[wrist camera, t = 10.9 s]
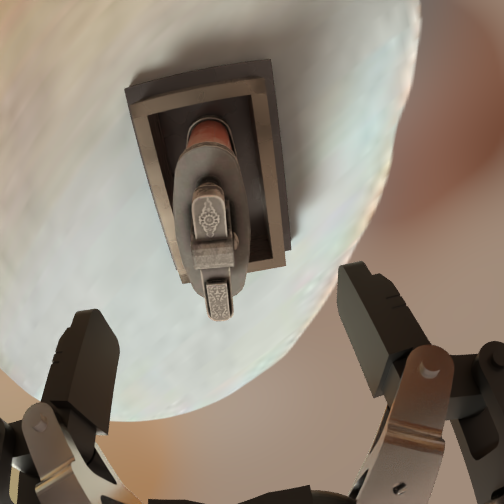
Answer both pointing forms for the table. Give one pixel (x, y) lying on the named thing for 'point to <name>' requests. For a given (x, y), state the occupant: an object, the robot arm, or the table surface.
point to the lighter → (212, 215)
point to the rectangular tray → (245, 140)
